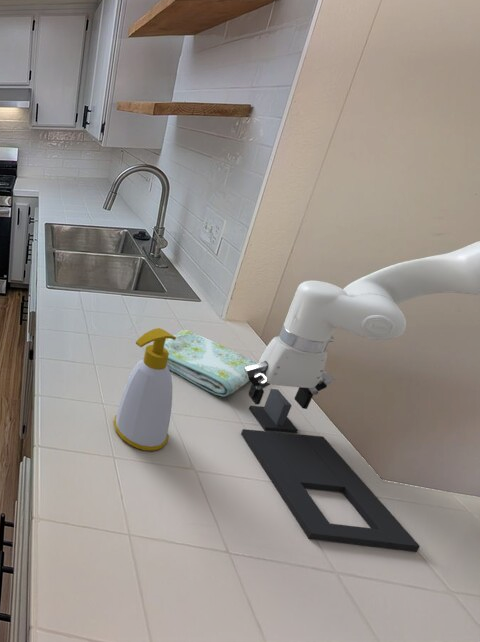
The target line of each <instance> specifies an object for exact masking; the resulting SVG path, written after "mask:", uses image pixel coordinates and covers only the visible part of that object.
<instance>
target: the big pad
mask: <svg viewBox="0 0 480 642" xmlns="http://www.w3.org/2000/svg"><path fill="white" fill-rule="evenodd" d="M240 435H241V436H242V438H243V439H244V441H245V443H246V444H247V446H248V448H249V449H250V450H251V452H252V453H253V456H254V457H255V458H256V460H257V461H258V463H259V464H260V466H261V468H262V469H263V471H264V472H265V473H266V475H267V477H268V478H269V480H270V481H271V483H272V484H273V486H274V488H275V489H276V491H277V493H278V494H279V495H280V497H281V499H282V500H283V501H284V503H285V505H286V506H287V508H288V509H289V511H290V512H291V514H292V516H293V517H294V519H295V520H296V522H297V523H298V525H299V526H300V528H301V529H302V531H303V533H304V534H305V536H306V538H308V540H314V541H323V542H330V543H331V542H332V543H341V544H348V545H356V546H365V547H374V548H381V549H388V550H397V551H405V552H413V553H416V552H417V551H418V550H419V549H420V547H421V546H420V544H419V543H418V542H417V541H416V540H415V539H414V538H413V537H412V535H411V534H410V533H409V532H408V531H407V530H406V529H405V527H403V525H402V524H401V523H400V522H399V520H397V518H396V517H395V516H394V515H393V514H392V513H391V511H389V509H388V508H387V507H386V505H384V504H383V503H382V501H381V500H380V499H379V498H378V497H377V495H375V494H374V492H373V491H372V490H371V489H370V488H369V486H368V485H367V484H366V483H365V482H364V481H363V480H362V479H361V477H360V476H359V475H358V474H357V473H356V472H355V471H354V469H353V468H352V467H351V466H350V465H349V464H348V463H347V462H346V461H345V459H344V458H343V457H342V456H341V455H340V454H339V453H338V452H337V450H336V449H335V448H334V447H333V446H332V445H331V444H330V442H329V441H328V440H327V439H326V438H325V437H324V436H322V435H313V434H312V435H310V434H299V433H288V432H277V431H266V430H257V429H256V430H255V429H245V428H242V430H241V432H240ZM307 489H308V490H317V491H328V492H336V493H342V494H343V496H344V497H345V498H346V499H347V500H348V501H349V503H350V505H352V507H353V508H354V509H355V510H356V511H357V512H358V514H359V516H360V517H362V519H363V520H364V521H365V523H366V524H367V525H368V526H369V527H364V526H354V525H348V524H339V523H330V521H329V520H328V518H327V517H326V516H325V515H324V513H323V512H322V510H321V509H320V508H319V506H318V505H317V503H316V502H315V500H313V498H312V497H311V495H310V494H309V492H308V491H307Z"/></svg>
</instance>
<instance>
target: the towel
mask: <svg viewBox="0 0 480 642" xmlns="http://www.w3.org/2000/svg"><path fill="white" fill-rule="evenodd" d="M173 336H174V337H176V339H175V340H174V339H171V338H166V340H165V344H164V348H165V349H166V350H167V351H168V352H169V356H168V360H167V364H166V365H167V366H168V368H169V370H170V372H171V371H172V372H173V373H175V374H177V375H178V376H180V377H182V378H184V379H185V380H187V381H189V382H191V383H192V384H193V385H195V386H197V387H200V388H201V389H203V390H205V391H207V392H209V393H211V394H213V395H215V396H218V397H219V396H220V397H228V396H230V395H232V394H234V393H235V392H236V391H237V390H239V389H241V388H242V387H243V386H244V385H246V384H247V383H248V382H250V381H249V379H248V378H247V377H246V373H245V370H244V368H245V367H247V366H251V365H255V364H257V362H255V361H253V360H252V359H251V358H249V357H248V356H245V355H244V354H242V353H240V352H237V351H235V350H232V349H230V348H228V347H227V346H224V345H222V344H220V343H218V342H215V341H213V340H211V339H209V338H206V337H204V336H202V335H200V334H198V333H195V332H194V331H193V332H192V331H191V330H187V329H182V330H181V331H178V332H177V333H176V334H174V335H173ZM259 373H260V372H258V373H255V374H254V376H255V375H257V374H259Z"/></svg>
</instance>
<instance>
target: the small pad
mask: <svg viewBox="0 0 480 642" xmlns="http://www.w3.org/2000/svg"><path fill="white" fill-rule="evenodd" d="M291 409H292V404H291V403H290V402H289V400H288V399H287V398H286V396H284V395H283V394H282V392H281V391H280V390H279V389H277V388H270V389H269V393H268V395H267V398H266V401H265V403H264V406H261V405H249V407H248V410H249V411H250V413H251V414H252V415H253V416H254V418H255V419H256V421H257V422H258V423H259V425H260V426H261V428H262V429H263V431H268V432H279V433H290V434H298V432H299V429H298V428H297V426H295V424H294V423H293V422H292V421H291V419H289V417H288V416H289V413H290V410H291Z"/></svg>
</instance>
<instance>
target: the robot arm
mask: <svg viewBox="0 0 480 642" xmlns="http://www.w3.org/2000/svg"><path fill="white" fill-rule="evenodd" d="M444 293H446V294H447V293H453V294H465V295H473V296H480V240H479V241H476V242H475V241H474V242H473V243H470V244H468V245H465V246H464V247H461V248H459V249H458V248H457V249H456V250H453V251H450V252H447V253H442V254H436V255H430V256H426V257H421V258H416V259H410V260H405V261H402V262H399V263H395V264H392V265H389V266H386V267H383V268H381V269H378V270H376V271H373V272H371V273H369V274H367V275H364V276H362V277H359V278H358V279H356V280H354V281H352V282H351V283H349V284H347V285H346V286H345V287H343V288H341V287H340V286H339V285H335V284H333V283H330V282H326V281H321V280H305V281H302V282H301V283H300V284H299V285H298V286H297V289H296V291H295V292H294V296H293V298H292V302H291V304H290V306H289V309H288V312H287V314H286V317H285V320H284V321H283V324H282V327H281V330H280V333H279V335H278V336H274V337H273V338H272V339H271V340H270V341H269V343H268V344H267V346H266V348H265V349H264V351H263V353H262V355H261V357H260V359H259V360H258V363H256V364H255V365H251V366H247V367H245V368H244V370H245V373H246V377H247V378H248V379H249V381H248V382H250V383H251V385H250V387H249V390H248V397H249V398H250V399H251V401H252V402H253V403H254V405H260V403H261V401H262V398H263V396H264V394H265V390H264V389H265V388H267V387H268V386H270V385H272V386H279V387H281V386H282V387H290V388H292V387H293V388H298V389H297V391H296V393H295V396H294V401H295V402H296V403H297V404H298V405H299V407H301V408H302V409H304V410H307V409H308V408H309V405H310V403H311V401H312V399H313V397H314V396H317V395H318V394H319V391H322V390H325V389H326V388H327V387H328V385H329V384H332V382H334V380H335V377H334V376H333V375H332V374H331V373H329V372H327V371H326V370H325V367H326V363H327V357H328V349H327V347H328V345H329V343H333V342H334V341H335V337H334V336H333V334H334V332H335V330H336V329H340V330H343V331H345V332H348V333H350V334H353V335H355V336H358V337H361V338H364V339H368V340H371V341H389V340H393V339H396V338H398V337H400V336H402V335H403V334H404V332H405V331H406V328H407V320H406V317H405V314H404V313H403V312H402V310H401V309H400V308H399V306H398V305H400V304H402V303H405V302H408V301H411V300H413V299H416V298H421V297H423V296H429V295H433V294H444ZM258 372H260V373H259V374H257V375H255V376H254V374H255V373H258ZM263 379H264V380H263ZM261 380H262V381H261ZM259 381H260V382H259Z"/></svg>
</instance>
